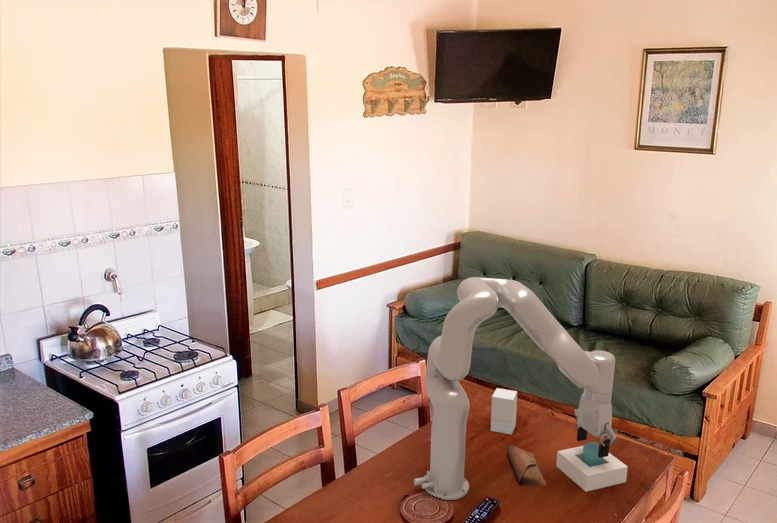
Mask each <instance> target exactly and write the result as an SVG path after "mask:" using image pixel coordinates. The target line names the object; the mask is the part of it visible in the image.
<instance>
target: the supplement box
mask: <svg viewBox="0 0 777 523" xmlns="http://www.w3.org/2000/svg"><path fill="white" fill-rule="evenodd" d="M517 405H518V391H517V390H512V389H505V388H499V387H496V389H495V390H494V392H493V394H492V395H491V407H490V409H491V410H490V411H491V412H490V413H491V414H490V432H494V433H500V434H506V435H512V436H513V432H514V430H515V427H516V426H517V424H516V423H517Z"/></svg>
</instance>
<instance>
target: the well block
mask: <svg viewBox="0 0 777 523" xmlns="http://www.w3.org/2000/svg"><path fill="white" fill-rule="evenodd" d="M556 452H557V454H556V467H557V468H558V469H559V470H560V471H561V472H563V474H565V475H566V476H567V478H569V479H570V480H571V481H573V482H574V483H575V484H576V485H577V486H578V487H579V488H581V489H582V490H583V491H584V492H590V491H594V490H599V489H602V488H603V489H604V488H606V487H611V486H616V485H620V484H625V483H627V478H628V477H627V476H628V468H629V466H627V465H626V464H625V463H623V462H622V461H621V460H619V459H618V458H617V457H616V456H614V455H613V454H612V453H610V452H609V454H608V456H607V457H603V460H602V464H601V465H596V466H592V467H589V466H588V465H586V464H585V463H584V462H583V461H582V456H583V445H580V446H576V447H571V448H567V449H566V448H564V449H562V450H557V451H556Z"/></svg>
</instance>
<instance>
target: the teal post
mask: <svg viewBox="0 0 777 523" xmlns="http://www.w3.org/2000/svg"><path fill="white" fill-rule="evenodd" d="M599 444H600V443H599ZM599 444H598V443H597V442H596V441H591V442H585V443H583V445H582V446H583V456H582V461H583V462H584V463H585V464H586V465H588V466H589V467H592V466H596V465H601V464H602V460H603V457H602V458H599V457H598V450H599Z"/></svg>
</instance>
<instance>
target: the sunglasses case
mask: <svg viewBox="0 0 777 523" xmlns="http://www.w3.org/2000/svg"><path fill="white" fill-rule="evenodd" d="M506 454H507V456H508V458H509V460H510V464H511V465H512V468H513V471H514V473H515V476H516V479H517V482H518V484H519V485H520V486H521V487H526V486H529V487H530V486H546V485H547V482H546V480H545V478H544V475H543V474H542V472H541V469H540V466H539V464H538V462H537V460H536V458H535V454H534V453H532V452H529V451H527V450H524V449H521V448H519V447H517V446H516V445H514V444H510V445H509V446H508V447H507V448H506Z"/></svg>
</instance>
